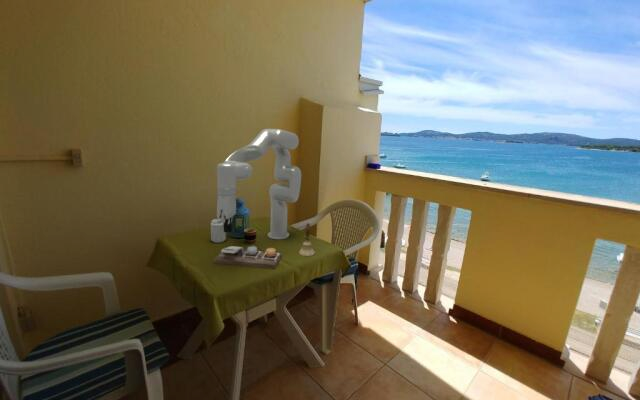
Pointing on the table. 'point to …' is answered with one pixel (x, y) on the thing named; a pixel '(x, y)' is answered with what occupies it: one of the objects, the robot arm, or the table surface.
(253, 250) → the grey button
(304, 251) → the hand bell
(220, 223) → the can
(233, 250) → the rocker
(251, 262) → the panel
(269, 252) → the orange button
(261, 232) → the table surface
